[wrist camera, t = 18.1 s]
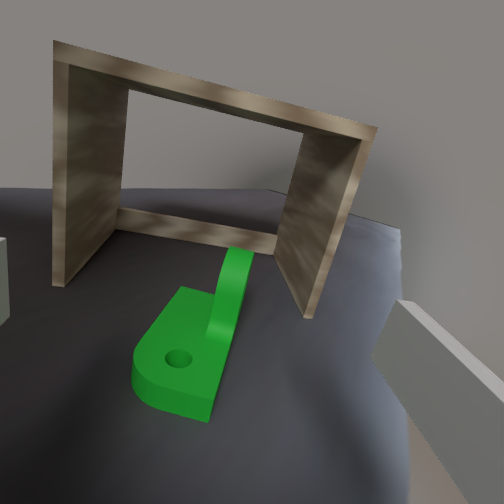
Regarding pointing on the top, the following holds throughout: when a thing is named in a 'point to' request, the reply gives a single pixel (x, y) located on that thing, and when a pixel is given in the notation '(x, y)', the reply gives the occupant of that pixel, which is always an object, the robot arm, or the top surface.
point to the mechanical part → (192, 343)
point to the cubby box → (114, 217)
